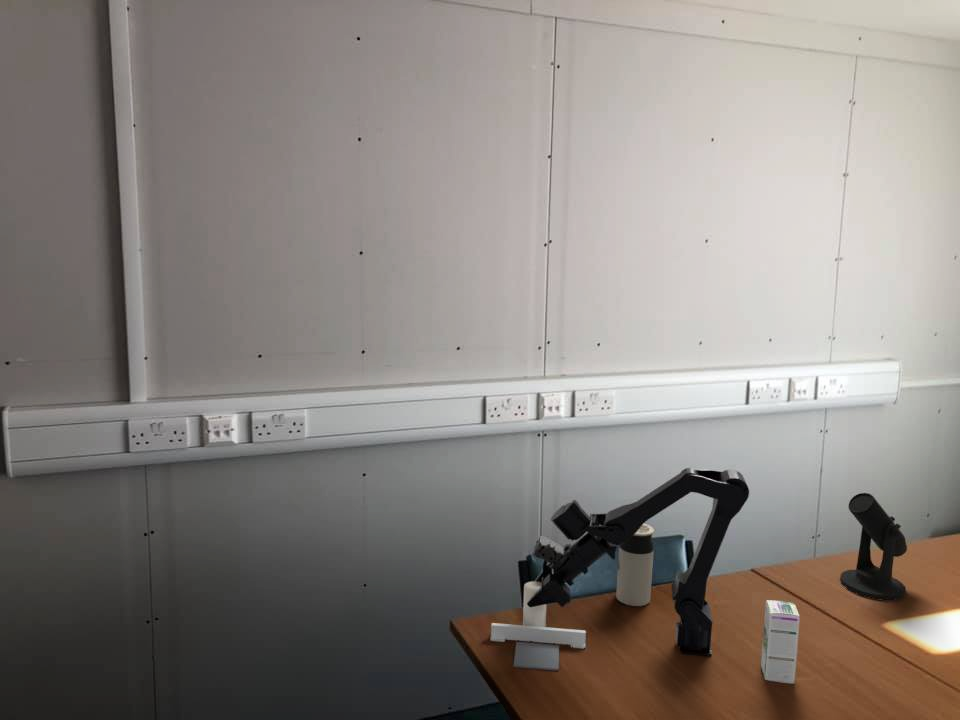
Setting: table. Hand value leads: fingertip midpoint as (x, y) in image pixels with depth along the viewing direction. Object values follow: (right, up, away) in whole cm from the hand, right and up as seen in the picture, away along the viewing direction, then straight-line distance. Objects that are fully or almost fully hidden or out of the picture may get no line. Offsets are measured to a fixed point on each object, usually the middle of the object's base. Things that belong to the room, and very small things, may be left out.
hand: (528, 598), depth 168 cm
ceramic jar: (+1, -7, +1) cm, 7 cm away
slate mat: (+1, -9, -10) cm, 13 cm away
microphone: (+88, -6, +27) cm, 93 cm away
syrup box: (+49, -11, -14) cm, 52 cm away
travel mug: (+26, -5, +16) cm, 31 cm away
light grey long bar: (+2, -8, -4) cm, 9 cm away
